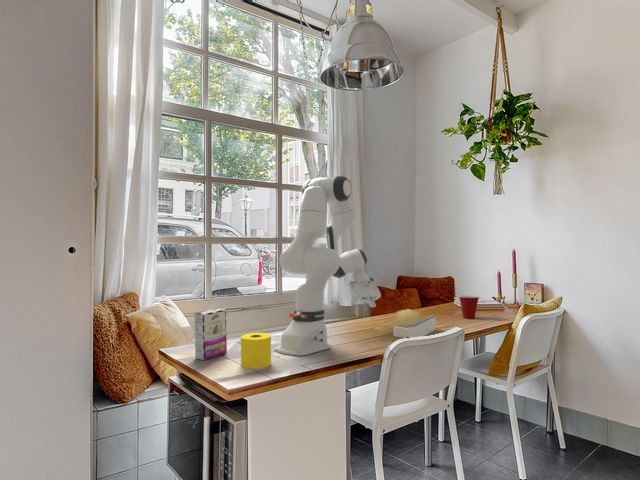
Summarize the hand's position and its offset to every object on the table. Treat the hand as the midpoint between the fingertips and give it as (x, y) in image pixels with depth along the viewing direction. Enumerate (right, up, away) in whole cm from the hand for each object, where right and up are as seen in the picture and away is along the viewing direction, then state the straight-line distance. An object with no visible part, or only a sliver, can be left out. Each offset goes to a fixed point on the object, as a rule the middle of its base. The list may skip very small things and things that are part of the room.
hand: (373, 306), depth 195 cm
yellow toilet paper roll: (-47, -11, -55) cm, 73 cm away
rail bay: (+16, -10, -10) cm, 22 cm away
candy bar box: (-65, -11, -45) cm, 79 cm away
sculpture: (+14, -11, -9) cm, 20 cm away
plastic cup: (+54, -10, +27) cm, 62 cm away
